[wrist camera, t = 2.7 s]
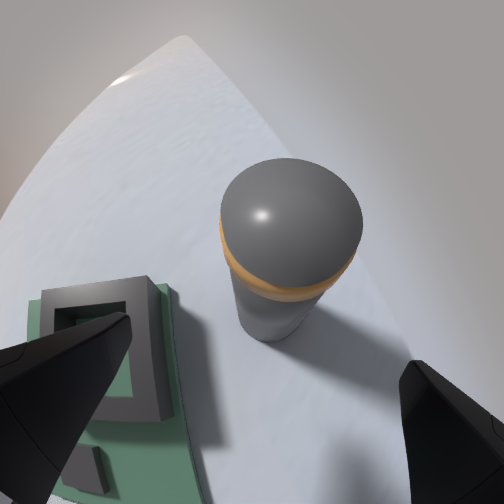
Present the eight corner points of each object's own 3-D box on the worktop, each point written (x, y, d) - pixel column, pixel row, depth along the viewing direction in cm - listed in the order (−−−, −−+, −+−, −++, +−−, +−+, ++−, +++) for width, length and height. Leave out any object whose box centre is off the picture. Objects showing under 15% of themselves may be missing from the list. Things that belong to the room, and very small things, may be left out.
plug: (307, 336, 19) (385, 266, 7) (242, 348, 18) (227, 295, 7) (293, 276, 21) (337, 152, 9) (232, 286, 20) (210, 164, 9)
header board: (207, 514, 12) (198, 537, 9) (55, 491, 11) (30, 500, 8) (169, 286, 20) (153, 266, 17) (34, 303, 19) (8, 289, 16)
